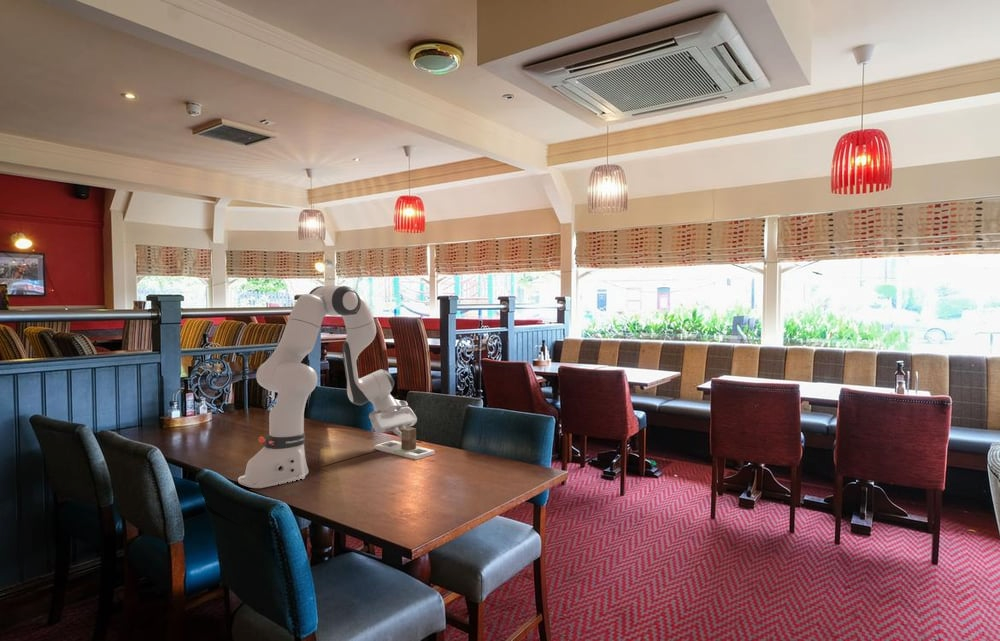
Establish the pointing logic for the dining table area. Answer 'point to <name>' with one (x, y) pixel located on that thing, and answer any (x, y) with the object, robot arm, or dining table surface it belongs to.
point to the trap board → (396, 449)
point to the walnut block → (408, 438)
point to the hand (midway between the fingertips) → (403, 436)
